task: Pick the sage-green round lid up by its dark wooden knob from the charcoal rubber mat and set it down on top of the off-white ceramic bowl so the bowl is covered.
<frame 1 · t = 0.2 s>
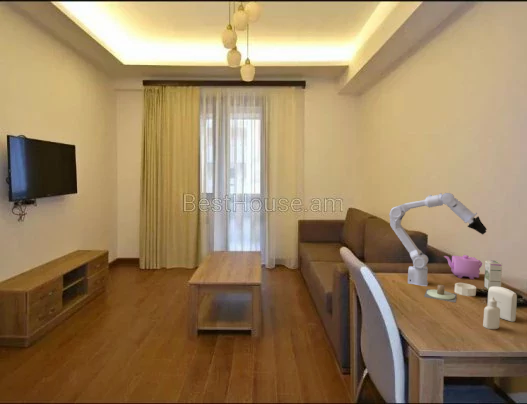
hand: (484, 231, 163), 31 cm above the table, tool tilted 45°, fingers open, 7 cm apart
mat: (440, 296, 162), on the table
lid: (440, 295, 162), resting on mat
syrup box: (492, 289, 174), on the table
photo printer: (500, 317, 139), on the table
bowl: (464, 293, 167), on the table
teapot: (461, 276, 196), on the table
eye dropper bottle: (490, 327, 130), on the table
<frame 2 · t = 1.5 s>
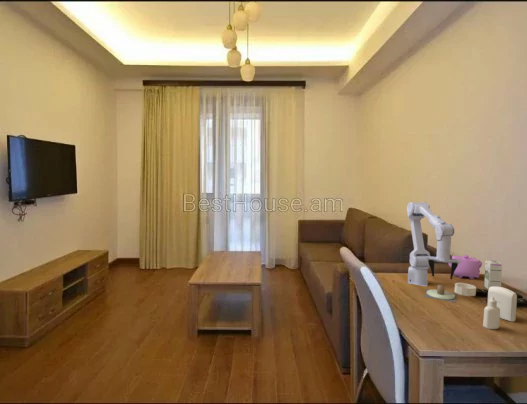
hand: (442, 277, 162), 10 cm above the table, tool pointing down, fingers open, 7 cm apart
nothing on the table moved.
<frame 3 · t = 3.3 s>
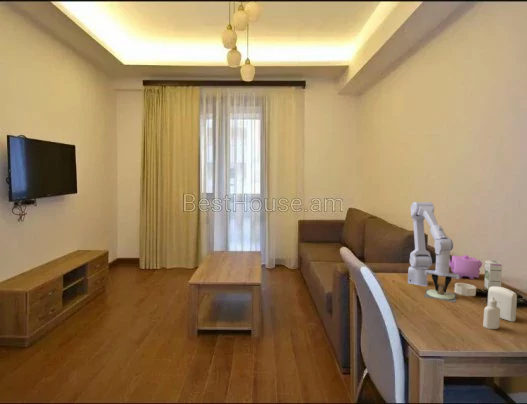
hand: (440, 291, 162), 3 cm above the table, tool pointing down, fingers closed on lid, 3 cm apart
lid: (440, 295, 162), resting on mat, touching gripper
everything else where it was.
when the fingers open (8 cm above the table, at t = 6.6 s): lid stays where it is, resting on bowl.
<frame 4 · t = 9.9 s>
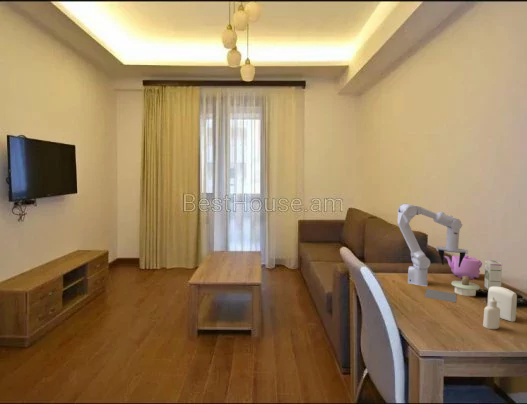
hand: (451, 265, 180), 10 cm above the table, tool pointing down, fingers open, 7 cm apart
lid: (465, 286, 166), point 4 cm above the table, touching bowl
everything else where it was.
at the end: lid 0.5 cm off-centre on the bowl, point 4.0 cm above the bowl's base; lid tilted 0°; lid touching bowl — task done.
